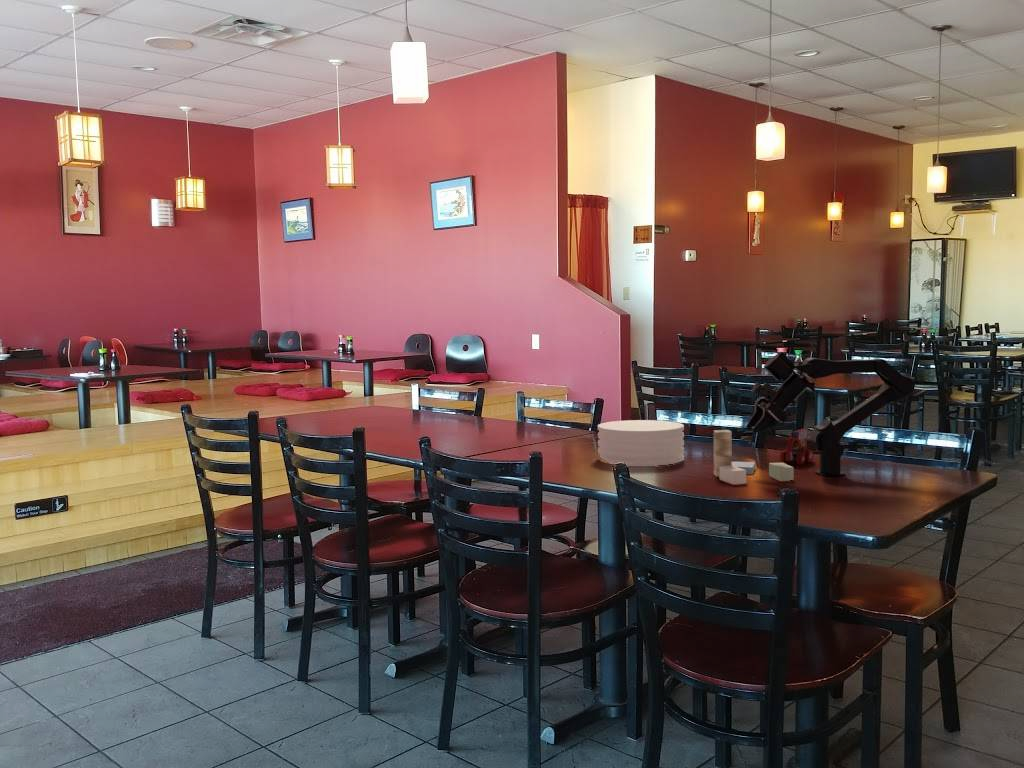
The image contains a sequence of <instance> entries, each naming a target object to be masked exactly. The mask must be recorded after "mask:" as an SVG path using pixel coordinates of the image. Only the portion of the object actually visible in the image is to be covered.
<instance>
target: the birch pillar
mask: <svg viewBox="0 0 1024 768" xmlns="http://www.w3.org/2000/svg"><path fill="white" fill-rule="evenodd" d="M732 435H733V433H732V431H731V430H729V429H722V430H721V429H719V430H717V429H715V430H713V475H714V476H715V477H720V466H732V462H733V461H732V460H733V459H732V457H733V456H732V454H733V453H732V451H733V450H732V449H733V448H732V443H733V442H732V440H733V439H732Z"/></svg>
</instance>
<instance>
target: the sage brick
mask: <svg viewBox="0 0 1024 768" xmlns="http://www.w3.org/2000/svg"><path fill="white" fill-rule="evenodd" d="M768 465H769V466H768V471H769V472H768V477H771V478H773V479H774V480H777V481H779V482H791V481H790V480H793V481H794V477H795V475H794V473H795V472H794V467H793V466H791V465H789V464H787V463H782V462H769V463H768Z"/></svg>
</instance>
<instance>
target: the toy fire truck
mask: <svg viewBox="0 0 1024 768" xmlns="http://www.w3.org/2000/svg"><path fill="white" fill-rule="evenodd" d="M808 435H809V434H808V429H807V428H802V429H798V430H797V429H796V430H793V431H791V432H790V437H788V440H787V445H786V449H783V450H781V452H780V454H779V455H780V456H779V460H780V463H785V464H787V463H788V462H793V463H795V462H796V464H797V465H799V464H803V465H804V464H805V463H808V462H810V463H812V461H813V458H814V453H813V450H811V449H807V447H808V445H807V444H808Z"/></svg>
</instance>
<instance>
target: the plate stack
mask: <svg viewBox="0 0 1024 768" xmlns="http://www.w3.org/2000/svg"><path fill="white" fill-rule="evenodd" d="M684 430H685V425H684V424H683V423H680V422H676V421H669V420H657V419H652V420H651V419H644V420H643V419H636V420H633V419H628V420H613V421H607V422H602V423H599V424H597V431H599V432H597V438H598V440H597V446H598V448H597V453H598V455H600V457H601V458H603V460H606V461H610V462H614V463H618V462H624V463H626V464H627V465H628V466H627V467H629V466H655V467H659V466H658V465H667V466H669V465H668V464H673V465H675V464H674V463H678V462H681V461H683V460H684V461H685V455H684V453H685V447H684V446H685V441H684V438H685V433H684ZM684 461H683V462H684ZM614 463H613V464H614ZM681 463H682V462H681ZM678 464H679V463H678Z"/></svg>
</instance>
